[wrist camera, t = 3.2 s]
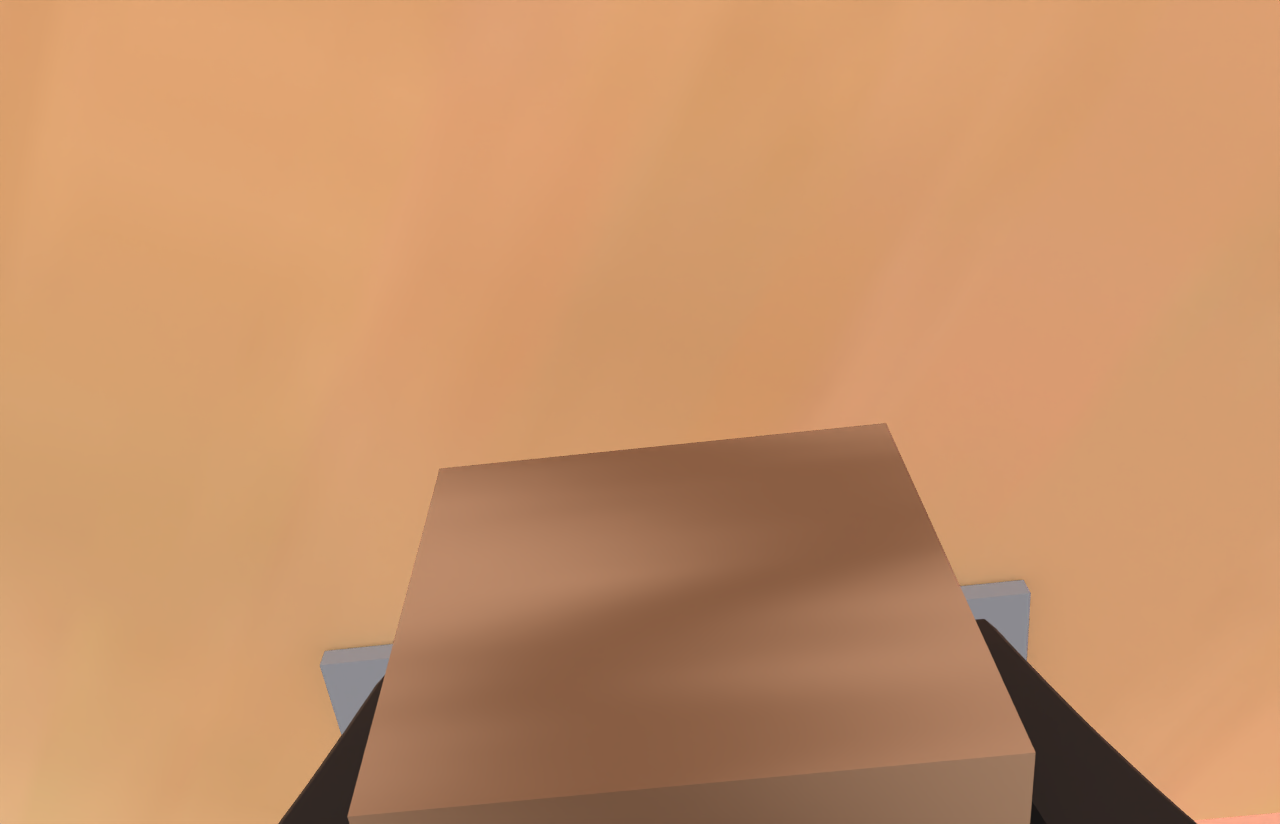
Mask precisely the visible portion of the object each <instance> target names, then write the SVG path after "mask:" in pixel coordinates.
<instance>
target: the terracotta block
mask: <svg viewBox="0 0 1280 824" xmlns="http://www.w3.org/2000/svg"><path fill="white" fill-rule="evenodd" d="M1195 822H1196V823H1197V824H1280V813H1271V814H1260V815H1249V816H1238V817H1227V818H1217V819H1206V820H1195Z"/></svg>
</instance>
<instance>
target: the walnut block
mask: <svg viewBox="0 0 1280 824" xmlns="http://www.w3.org/2000/svg"><path fill="white" fill-rule="evenodd" d="M1035 754H1036V752H1035V750H1034V748H1033V746H1032V744H1031V741H1030V739H1029V737H1028V735H1027V733H1026V730H1025V728H1024V726H1023V724H1022V722H1021V719H1020V717H1019V715H1018V713H1017V711H1016V708H1015V706H1014V704H1013V702H1012V700H1011V697H1010V695H1009V693H1008V691H1007V689H1006V686H1005V684H1004V682H1003V680H1002V678H1001V675H1000V673H999V671H998V669H997V667H996V664H995V662H994V660H993V658H992V656H991V653H990V651H989V649H988V647H987V645H986V642H985V640H984V638H983V636H982V633H981V631H980V629H979V627H978V625H977V622H976V620H975V618H974V616H973V614H972V611H971V609H970V607H969V605H968V603H967V600H966V598H965V596H964V594H963V592H962V589H961V587H960V585H959V583H958V581H957V578H956V576H955V574H954V572H953V570H952V567H951V565H950V563H949V561H948V559H947V556H946V554H945V552H944V550H943V548H942V545H941V543H940V541H939V539H938V537H937V534H936V532H935V530H934V528H933V526H932V523H931V521H930V519H929V517H928V515H927V512H926V510H925V508H924V506H923V504H922V501H921V499H920V497H919V495H918V493H917V490H916V488H915V486H914V484H913V482H912V479H911V477H910V475H909V473H908V471H907V468H906V466H905V464H904V462H903V460H902V457H901V455H900V453H899V451H898V449H897V446H896V444H895V442H894V440H893V438H892V435H891V433H890V431H889V429H888V427H887V424H886V423H883V424H873V425H864V426H854V427H844V428H834V429H824V430H815V431H805V432H795V433H785V434H775V435H766V436H756V437H746V438H736V439H726V440H716V441H707V442H697V443H687V444H677V445H667V446H658V447H648V448H638V449H628V450H618V451H609V452H599V453H589V454H579V455H569V456H560V457H550V458H540V459H530V460H520V461H511V462H501V463H491V464H481V465H471V466H462V467H452V468H442V469H439V473H438V477H437V480H436V484H435V488H434V492H433V496H432V499H431V503H430V507H429V511H428V514H427V518H426V522H425V526H424V529H423V533H422V537H421V541H420V545H419V548H418V552H417V556H416V560H415V563H414V567H413V571H412V575H411V578H410V582H409V586H408V590H407V594H406V597H405V601H404V605H403V609H402V612H401V616H400V620H399V624H398V627H397V631H396V635H395V639H394V643H393V646H392V650H391V654H390V658H389V661H388V665H387V669H386V673H385V677H384V680H383V684H382V688H381V692H380V695H379V699H378V703H377V707H376V710H375V714H374V718H373V722H372V726H371V729H370V733H369V737H368V741H367V744H366V748H365V752H364V756H363V759H362V763H361V767H360V771H359V775H358V778H357V782H356V786H355V790H354V793H353V797H352V801H351V805H350V808H349V812H348V816H347V817H348V821H349V824H1030V818H1031V805H1032V792H1033V779H1034V767H1035Z"/></svg>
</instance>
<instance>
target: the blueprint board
mask: <svg viewBox="0 0 1280 824" xmlns="http://www.w3.org/2000/svg"><path fill="white" fill-rule="evenodd" d="M960 587H961V589H962V592H963V594H964V596H965V598H966V600H967V603H968V605H969V607H970V609H971V611H972V614H973V616H974V618H975V620H977V619H985V620H987V621H988V622H989V623H990V624H991V625H993V626H994V627H995V628H996V629H997V630H998V631H999V632H1000V633H1001V634H1002V635H1003V636H1004V637H1005V639H1006V640H1007V641H1008V642H1009V643H1010V644H1011V645H1012V646H1013V647H1014V648H1015V649H1016V650H1017V651H1018V652H1019V653H1020V654H1021V656H1022V657H1023V658H1024V659H1025V660H1026V661H1027V646H1028V628H1029V611H1030V594H1031V593H1030V591H1029V589H1028V587H1027V586H1026V584H1025V582H1024V580H1018V581H1008V582H998V583H988V584H979V585H969V586H960ZM392 646H393V644H390V645H380V646H370V647H360V648H350V649H341V650H331V651H325V652H324V655H323V657H322V660H321V663H320V668H321V671H322V674H323V677H324V680H325V684H326V687H327V690H328V693H329V696H330V699H331V703H332V706H333V709H334V712H335V715H336V719H337V722H338V725H339V728H340V731H341V734H343V733H344V731H345V730H346V728H347V727H348V725H349V724H350V722H351V721H352V719H353V718H354V716H355V715H356V713H357V712H358V710H359V709H360V707H361V706H362V705H363V703H364V702H365V700H366V699H367V697H368V696H369V694H370V693H371V691H372V690H373V688H374V687H375V686H376V684H377V683H378V682H379V681H380V680H381V679H382V678H383V676H384V675H385V673H386V669H387V665H388V661H389V658H390V654H391V650H392Z"/></svg>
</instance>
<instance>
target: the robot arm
mask: <svg viewBox="0 0 1280 824" xmlns="http://www.w3.org/2000/svg"><path fill="white" fill-rule="evenodd" d="M976 622H977V625H978V627H979V629H980V631H981V633H982V636H983V638H984V640H985V642H986V645H987V647H988V649H989V651H990V653H991V656H992V658H993V660H994V662H995V664H996V667H997V669H998V671H999V673H1000V675H1001V678H1002V680H1003V682H1004V684H1005V686H1006V689H1007V691H1008V693H1009V695H1010V697H1011V700H1012V702H1013V704H1014V706H1015V708H1016V711H1017V713H1018V715H1019V717H1020V719H1021V722H1022V724H1023V726H1024V728H1025V730H1026V733H1027V735H1028V737H1029V739H1030V741H1031V744H1032V746H1033V748H1034V750H1035V752H1036V754H1035V767H1034V779H1033V792H1032V805H1031V818H1030V824H1197V823H1196V822H1195V821H1194V820H1192V819H1191V818H1190V817H1189V816H1188V815H1186V814H1185V813H1184V812H1183V811H1182V810H1181V809H1180V808H1179V807H1177V806H1176V805H1175V804H1174V803H1173V802H1172V801H1171V800H1170V799H1168V798H1167V797H1166V796H1165V795H1164V794H1163V793H1162V792H1161V791H1159V790H1158V789H1157V788H1156V787H1155V786H1154V785H1153V784H1152V783H1151V782H1150V781H1148V780H1147V779H1146V778H1145V777H1144V776H1143V775H1142V774H1141V773H1140V772H1139V771H1138V770H1137V769H1136V768H1135V767H1133V766H1132V765H1131V764H1130V763H1129V762H1128V761H1127V760H1126V759H1125V758H1124V757H1123V756H1122V755H1121V754H1120V753H1118V752H1117V751H1116V750H1115V749H1114V748H1113V747H1112V746H1111V745H1110V744H1109V743H1108V742H1107V741H1106V740H1105V739H1103V738H1102V737H1101V736H1100V735H1099V734H1098V733H1097V732H1096V731H1095V730H1094V729H1093V728H1092V727H1091V726H1090V725H1089V724H1088V723H1087V722H1086V721H1085V720H1084V719H1083V718H1082V717H1081V716H1080V715H1079V714H1078V713H1077V712H1076V711H1075V710H1074V709H1073V708H1072V707H1071V706H1070V705H1069V704H1068V703H1067V702H1066V701H1065V700H1064V699H1063V698H1062V697H1061V696H1060V695H1059V694H1058V693H1057V692H1056V691H1055V690H1054V689H1053V688H1052V687H1051V686H1050V685H1049V684H1048V683H1047V682H1046V681H1045V680H1044V679H1043V678H1042V676H1041V675H1040V674H1039V673H1038V672H1037V671H1036V670H1035V669H1034V668H1033V667H1032V666H1031V665H1030V664H1029V663H1028V662H1027V661H1026V660H1025V659H1024V658H1023V657H1022V656H1021V654H1020V653H1019V652H1018V651H1017V650H1016V649H1015V648H1014V647H1013V646H1012V645H1011V644H1010V643H1009V642H1008V641H1007V640H1006V639H1005V637H1004V636H1003V635H1002V634H1001V633H1000V632H999V631H998V630H997V629H996V628H995V627H994V626H993V625H991V624H990V623H989V622H988V621H987V620H985V619H977V620H976ZM384 677H385V675H384V676H383V678H382V679H381V680H380V681H379V682H378V683H377V684H376V686H375V687H374V688H373V690H372V691H371V693H370V694H369V696H368V697H367V699H366V700H365V702H364V703H363V705H362V706H361V707H360V709H359V710H358V712H357V713H356V715H355V716H354V718H353V719H352V721H351V722H350V724H349V725H348V727H347V728H346V730H345V731H344V733H343V734H342V735H341V737H340V738H339V740H338V741H337V743H336V744H335V746H334V747H333V749H332V750H331V751H330V753H329V754H328V756H327V757H326V759H325V760H324V761H323V763H322V764H321V766H320V767H319V769H318V770H317V771H316V773H315V774H314V776H313V777H312V779H311V780H310V781H309V783H308V784H307V786H306V787H305V788H304V790H303V791H302V792H301V794H300V795H299V797H298V798H297V799H296V801H295V802H294V803H293V805H292V806H291V807H290V809H289V810H288V811H287V813H286V814H285V815H284V817H283V818H282V819H281V821H280V822H279V824H349V821H348V817H347V816H348V812H349V808H350V805H351V801H352V797H353V793H354V790H355V786H356V782H357V778H358V775H359V771H360V767H361V763H362V759H363V756H364V752H365V748H366V744H367V741H368V737H369V733H370V729H371V726H372V722H373V718H374V714H375V710H376V707H377V703H378V699H379V695H380V692H381V688H382V684H383V680H384Z"/></svg>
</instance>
